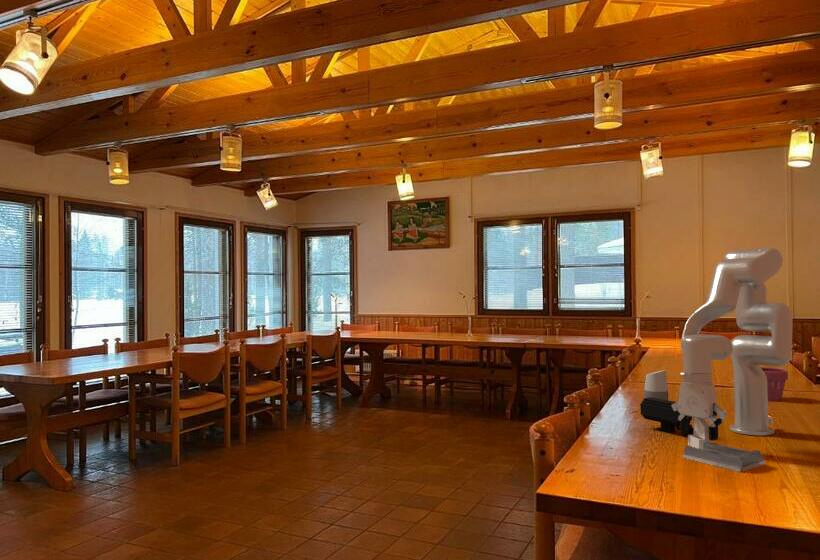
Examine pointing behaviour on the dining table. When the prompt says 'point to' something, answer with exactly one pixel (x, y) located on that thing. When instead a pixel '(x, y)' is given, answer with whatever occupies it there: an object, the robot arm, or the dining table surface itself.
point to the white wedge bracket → (699, 433)
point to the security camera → (663, 414)
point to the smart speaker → (656, 385)
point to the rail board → (725, 456)
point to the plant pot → (775, 382)
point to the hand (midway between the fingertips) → (698, 436)
